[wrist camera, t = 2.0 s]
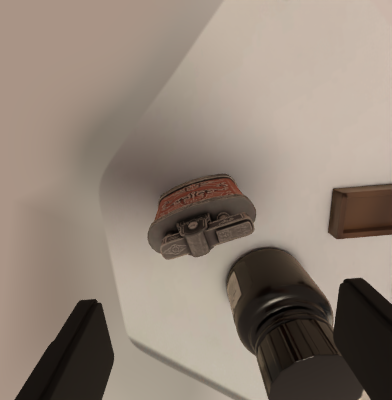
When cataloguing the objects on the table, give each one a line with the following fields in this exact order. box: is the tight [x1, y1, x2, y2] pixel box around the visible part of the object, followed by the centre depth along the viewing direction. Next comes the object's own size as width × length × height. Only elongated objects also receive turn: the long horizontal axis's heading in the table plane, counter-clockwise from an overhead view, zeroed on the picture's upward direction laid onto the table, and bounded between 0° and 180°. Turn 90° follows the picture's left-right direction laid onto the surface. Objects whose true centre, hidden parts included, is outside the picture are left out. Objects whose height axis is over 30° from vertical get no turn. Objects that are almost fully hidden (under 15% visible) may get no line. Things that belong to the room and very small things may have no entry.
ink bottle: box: [227, 249, 364, 400], centre depth 22 cm, size 10×9×12 cm
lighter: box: [148, 174, 256, 260], centre depth 19 cm, size 8×3×10 cm, turn 109°
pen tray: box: [328, 184, 392, 239], centre depth 25 cm, size 10×5×2 cm, turn 94°
